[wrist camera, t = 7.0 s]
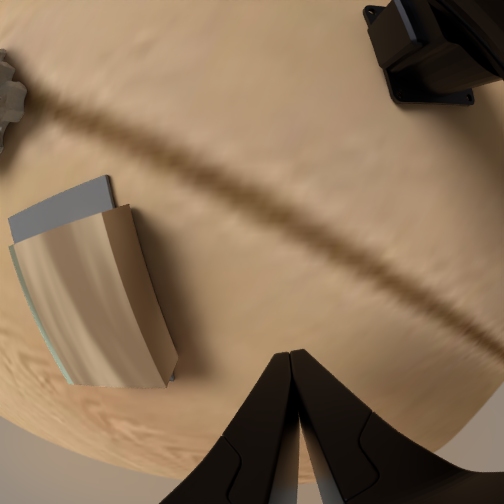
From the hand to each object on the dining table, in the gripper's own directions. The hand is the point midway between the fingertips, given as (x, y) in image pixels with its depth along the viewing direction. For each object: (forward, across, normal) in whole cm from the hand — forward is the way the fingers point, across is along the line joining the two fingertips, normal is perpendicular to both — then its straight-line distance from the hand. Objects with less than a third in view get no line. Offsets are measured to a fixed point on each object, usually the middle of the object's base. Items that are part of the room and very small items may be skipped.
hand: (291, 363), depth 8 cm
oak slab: (+6, +7, 0) cm, 10 cm away
